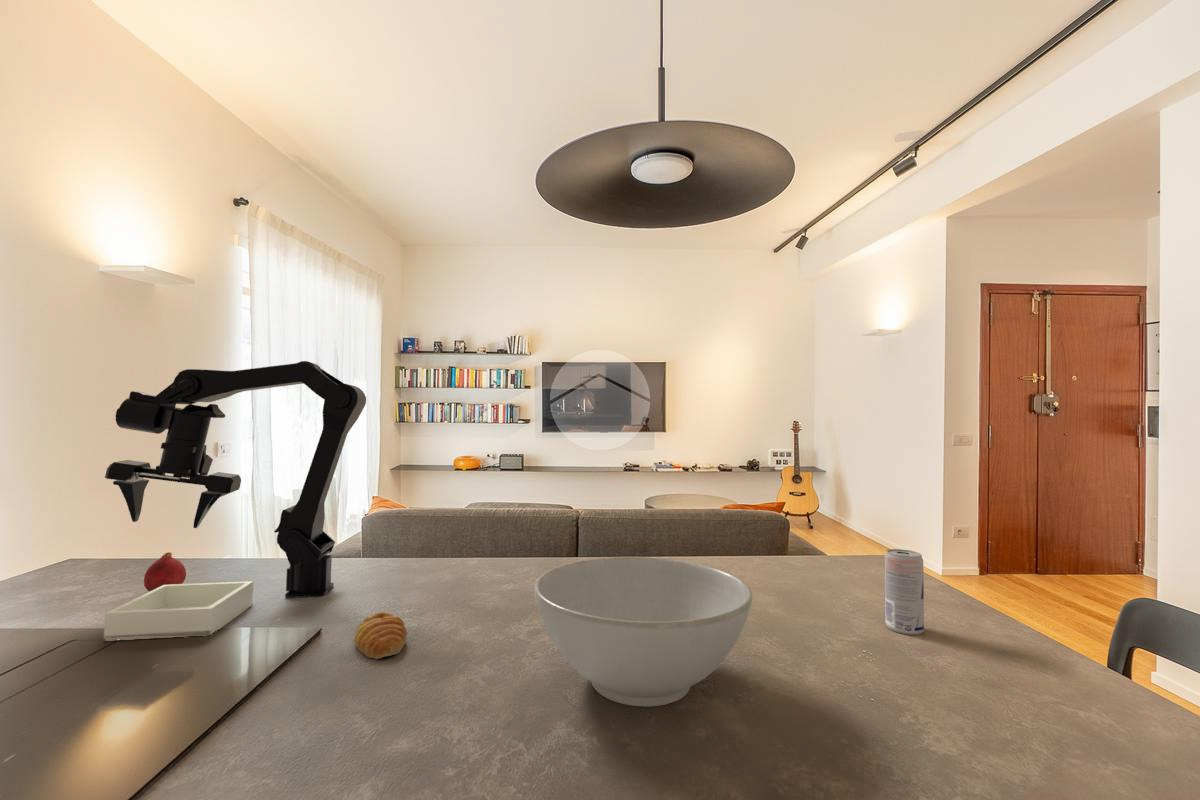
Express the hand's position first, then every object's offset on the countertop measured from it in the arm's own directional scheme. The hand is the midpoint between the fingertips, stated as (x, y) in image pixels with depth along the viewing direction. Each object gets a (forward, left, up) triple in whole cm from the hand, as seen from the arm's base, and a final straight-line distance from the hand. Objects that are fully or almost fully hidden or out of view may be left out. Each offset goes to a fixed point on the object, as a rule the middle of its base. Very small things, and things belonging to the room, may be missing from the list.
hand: (165, 524), depth 95 cm
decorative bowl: (-76, +43, -13) cm, 89 cm away
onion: (0, 0, -13) cm, 13 cm away
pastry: (-43, +27, -13) cm, 52 cm away
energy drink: (-122, +33, -13) cm, 127 cm away
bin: (-10, +13, -13) cm, 21 cm away
